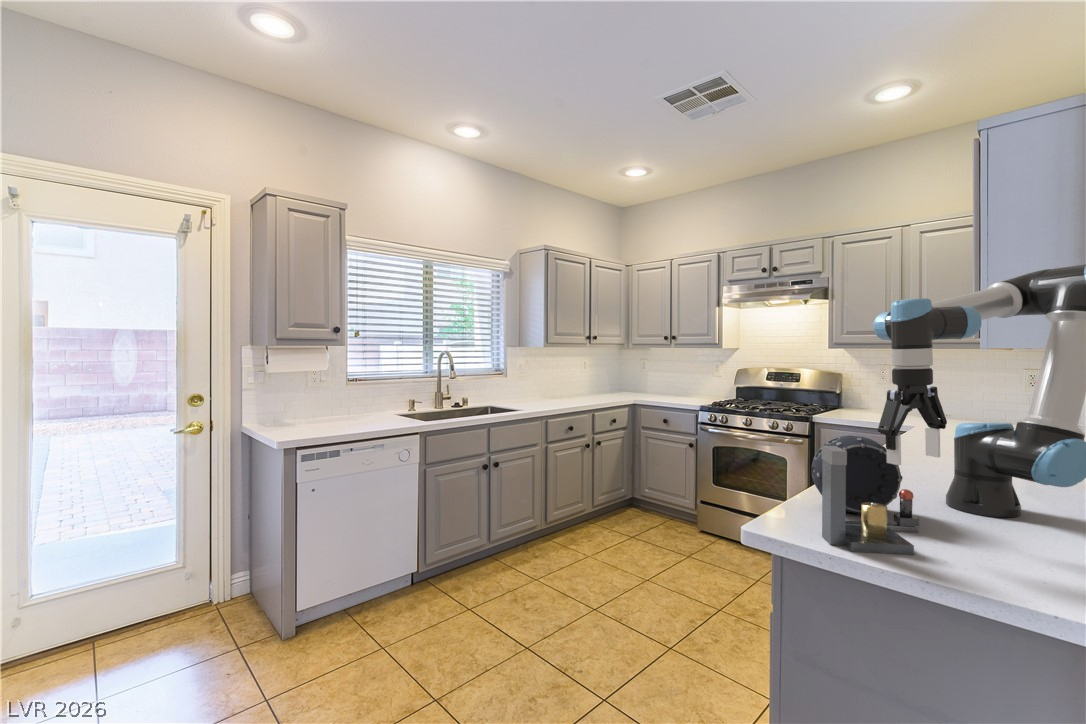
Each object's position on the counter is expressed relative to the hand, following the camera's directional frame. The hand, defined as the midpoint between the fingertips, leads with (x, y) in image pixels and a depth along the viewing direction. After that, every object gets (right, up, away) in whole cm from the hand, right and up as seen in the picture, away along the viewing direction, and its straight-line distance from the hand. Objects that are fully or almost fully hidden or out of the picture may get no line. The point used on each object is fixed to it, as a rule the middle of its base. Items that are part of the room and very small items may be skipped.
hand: (913, 460), depth 115 cm
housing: (-11, -16, -3) cm, 20 cm away
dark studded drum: (-2, -17, +18) cm, 25 cm away
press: (-9, -18, -1) cm, 20 cm away
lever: (+2, -16, +5) cm, 17 cm away
